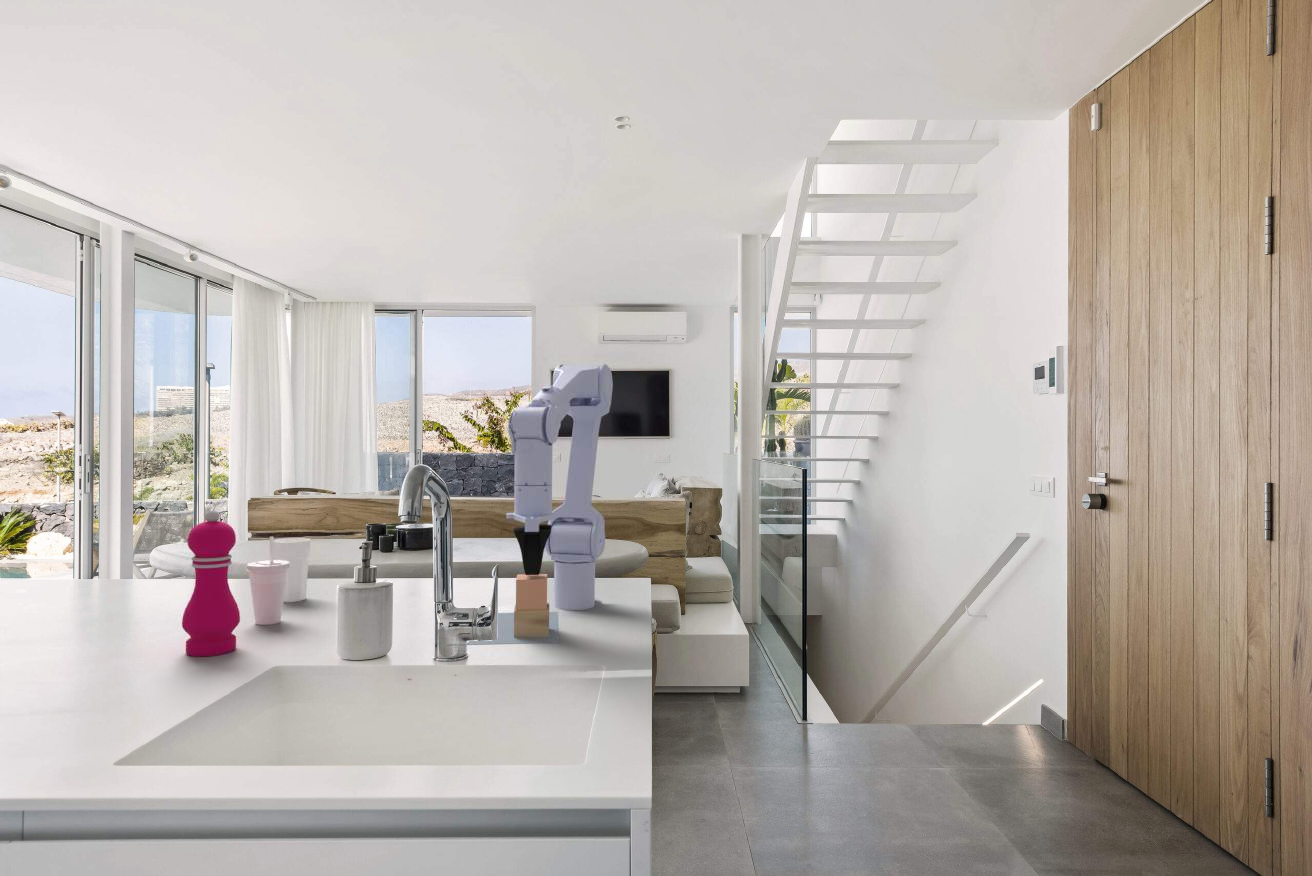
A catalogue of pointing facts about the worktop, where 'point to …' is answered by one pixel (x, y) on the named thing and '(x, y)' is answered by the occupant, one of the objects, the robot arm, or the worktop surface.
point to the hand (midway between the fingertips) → (532, 573)
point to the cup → (294, 565)
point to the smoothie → (268, 588)
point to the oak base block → (531, 623)
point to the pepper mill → (211, 590)
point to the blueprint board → (508, 637)
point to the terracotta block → (531, 592)
